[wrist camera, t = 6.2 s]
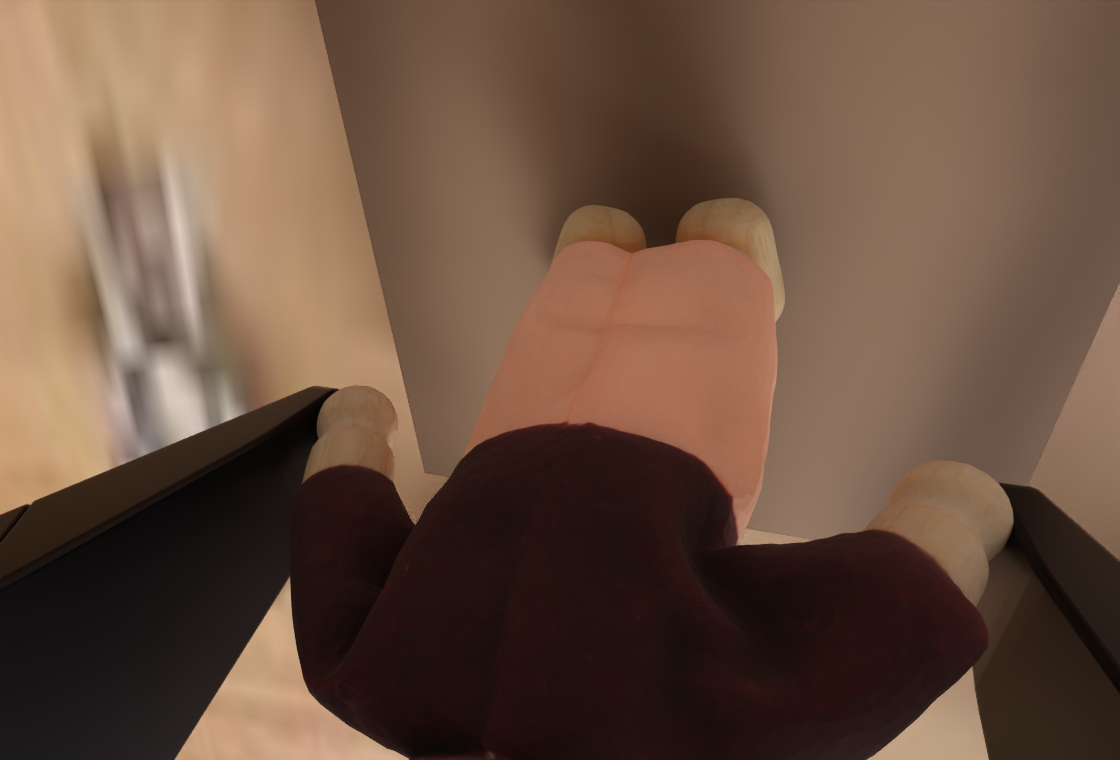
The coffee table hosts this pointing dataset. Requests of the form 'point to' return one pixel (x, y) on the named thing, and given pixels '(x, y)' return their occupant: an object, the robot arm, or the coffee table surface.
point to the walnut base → (760, 203)
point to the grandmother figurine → (629, 539)
